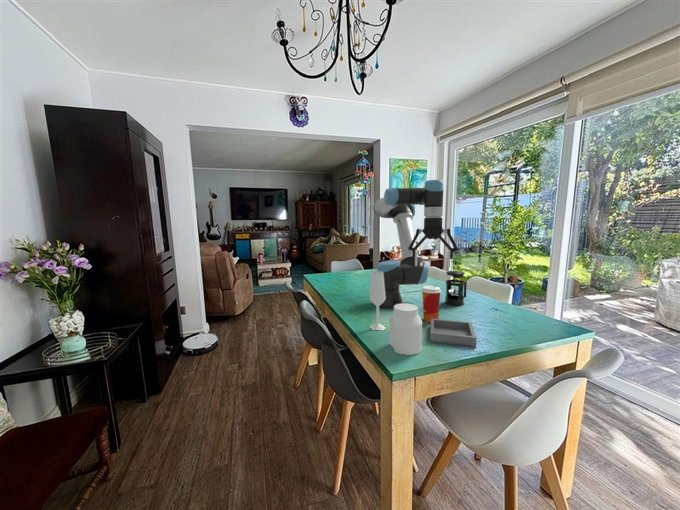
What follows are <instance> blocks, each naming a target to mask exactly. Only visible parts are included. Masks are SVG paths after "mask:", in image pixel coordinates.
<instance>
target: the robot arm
mask: <svg viewBox="0 0 680 510" xmlns="http://www.w3.org/2000/svg"><path fill="white" fill-rule="evenodd" d="M444 190H445V189H444V181H443V180H441V179H431V180H430V179H429V180H426V181H424V187H402V188H401V187H392V188H386V189H385V190H384V194H383V197H382V198H381V197H380V198H378V199H376V201H375V202H374V203H373V206H372V207H373V212H374V214H376V216H378V217H379V218H383V219H392V221H393V223H395V224H396V229H397V235H398V241H399V246H400V250H401V252H400V253H401V256H402V257H401V258H402V259H401V260H400V261H399V260H397V259H395V260H394V259H389V260H384V261H381V262H379V263H377V267H376V271H382V272H383V274H384V285H385V295H386V299H385V301H384V302H383V303H382V304H381V305H380V306H379V309H380V308H381V309H394V305H396V304H402V303H403V298H402V296H401V292H400V286H405V285H406V286H407V285H408V286H409V285H410V286H411V285H412V286H413V285H424V284H425V283H426V282H427V280H428V277H429V264H428V263H427V262H426V261H423V258H422V257H421V256H419V252H418V248H419V247H420V246H421V245H422V244H423V242H424V241H426V239H428V240H437V239H439V240H440V241H441V242H442V243H443V245H444V246H445V247H446V248H447V249H448V250H449V251H447V268H450V267H451V260H453V259H454V252H456V251H458V250H459V248H458V246H457V244H456V242H455V240H454V238H453V236H452V234H451V229H450V228H449V227H447V228H443V219H444V218H443V217H442V216H444V215H443V213H444ZM416 205H418V206H424V207H423V210H424V211H423V216H424V218H423V228H422V229H420V228H416V230H415V232H414V227H413V224H412V220H413V219H414V216H415V215H416ZM421 233H423V234H424V235H423V237H422V238H421V239H420V240H419V242H417V243H416V241H417V239H418V238H419V235H421ZM443 233H445V235H447V237H448V239H449V241H450V243H451V244H452V246H451V245H450V244H449V242H447V241H446V239H444V238H443V236H442V234H443ZM374 306H375V307H376V305H374Z"/></svg>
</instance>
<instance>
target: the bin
mask: <svg viewBox="0 0 680 510" xmlns="http://www.w3.org/2000/svg"><path fill="white" fill-rule="evenodd" d="M429 335H430V337H429V338H430V340H429V342H430V343H436V344H444V345H446V344H447V345H453V346H459V347H470V348H471V347H472V348H477V335H476V332H475V330H474V327H473V323H472V322H471V321H462V320H452V319H440V318H438V319H431V323H430V334H429Z"/></svg>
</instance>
